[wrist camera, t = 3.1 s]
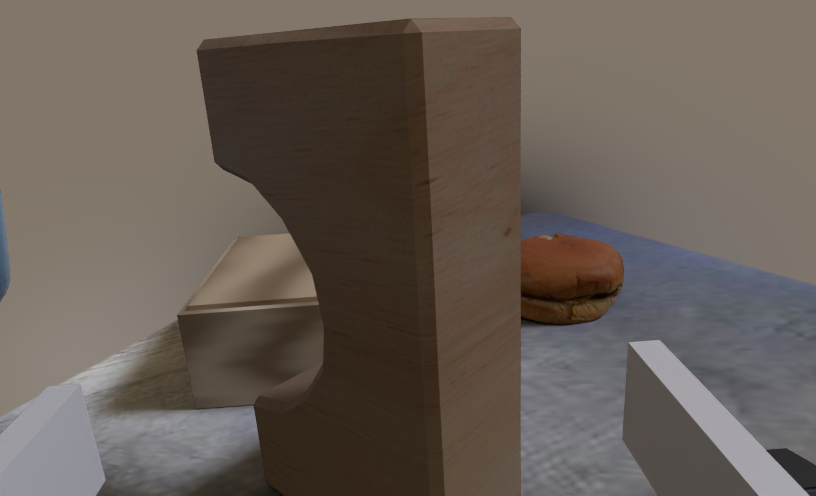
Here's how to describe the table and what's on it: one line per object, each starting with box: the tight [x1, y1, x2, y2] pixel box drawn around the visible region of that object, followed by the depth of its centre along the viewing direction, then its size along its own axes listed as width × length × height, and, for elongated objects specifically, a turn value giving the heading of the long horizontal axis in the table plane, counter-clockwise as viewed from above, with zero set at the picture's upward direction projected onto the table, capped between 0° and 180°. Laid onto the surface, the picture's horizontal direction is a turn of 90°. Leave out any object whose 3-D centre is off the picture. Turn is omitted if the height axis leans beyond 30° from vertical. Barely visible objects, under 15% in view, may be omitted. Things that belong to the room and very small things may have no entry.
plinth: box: [177, 234, 324, 409], centre depth 41 cm, size 12×14×6 cm
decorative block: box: [197, 17, 521, 496], centre depth 24 cm, size 11×6×20 cm, turn 47°
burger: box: [521, 233, 624, 324], centre depth 47 cm, size 10×9×5 cm
